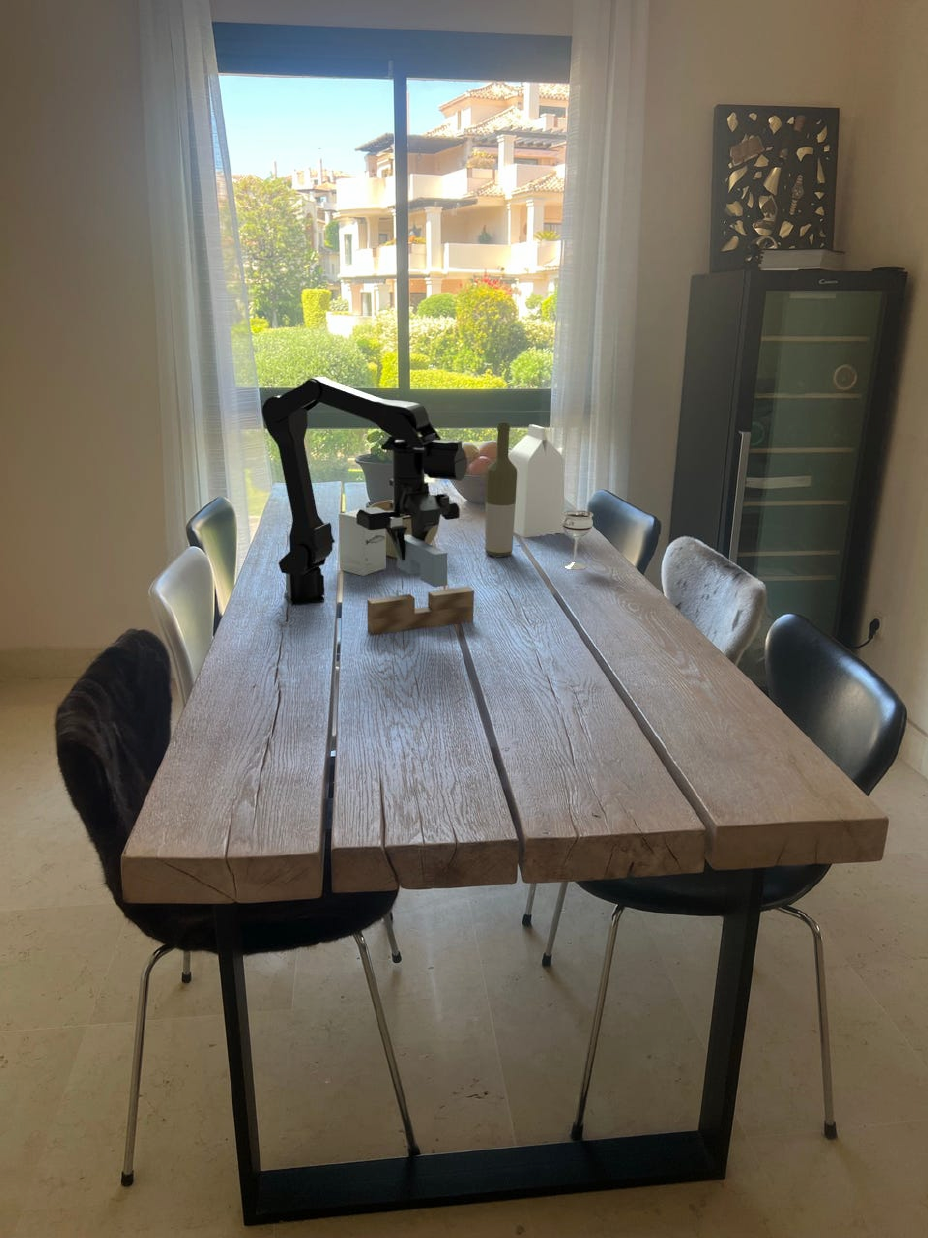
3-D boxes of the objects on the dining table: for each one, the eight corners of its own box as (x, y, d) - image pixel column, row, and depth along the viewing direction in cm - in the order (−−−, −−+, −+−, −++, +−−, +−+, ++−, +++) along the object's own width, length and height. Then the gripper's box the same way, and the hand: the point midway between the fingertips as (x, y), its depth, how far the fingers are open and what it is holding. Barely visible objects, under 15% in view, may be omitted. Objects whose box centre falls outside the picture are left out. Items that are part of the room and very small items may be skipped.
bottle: (514, 559, 215) (520, 426, 204) (483, 558, 215) (487, 425, 205) (513, 550, 222) (519, 421, 211) (483, 549, 222) (487, 420, 211)
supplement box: (363, 577, 200) (363, 519, 196) (338, 570, 205) (337, 513, 200) (387, 569, 206) (386, 512, 201) (362, 562, 210) (361, 506, 206)
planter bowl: (431, 566, 208) (432, 518, 205) (361, 560, 211) (360, 513, 207) (447, 547, 223) (448, 501, 219) (381, 541, 226) (381, 497, 222)
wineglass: (589, 562, 214) (593, 510, 210) (590, 571, 208) (594, 518, 204) (559, 560, 215) (562, 509, 210) (559, 569, 208) (562, 516, 204)
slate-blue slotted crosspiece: (397, 567, 177) (396, 536, 175) (409, 565, 178) (408, 534, 176) (434, 587, 166) (434, 554, 164) (447, 585, 167) (447, 552, 165)
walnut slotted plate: (372, 635, 169) (371, 603, 167) (367, 630, 171) (367, 599, 169) (473, 620, 177) (474, 590, 175) (467, 616, 179) (468, 586, 177)
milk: (501, 525, 243) (505, 423, 233) (540, 521, 247) (545, 421, 238) (523, 537, 233) (528, 431, 223) (563, 533, 237) (570, 429, 228)
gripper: (382, 489, 158) (384, 578, 164) (476, 478, 168) (475, 562, 173) (353, 477, 167) (356, 562, 173) (444, 467, 176) (444, 548, 182)
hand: (409, 558), depth 175 cm, fingers closed on slate-blue slotted crosspiece, 2 cm apart
